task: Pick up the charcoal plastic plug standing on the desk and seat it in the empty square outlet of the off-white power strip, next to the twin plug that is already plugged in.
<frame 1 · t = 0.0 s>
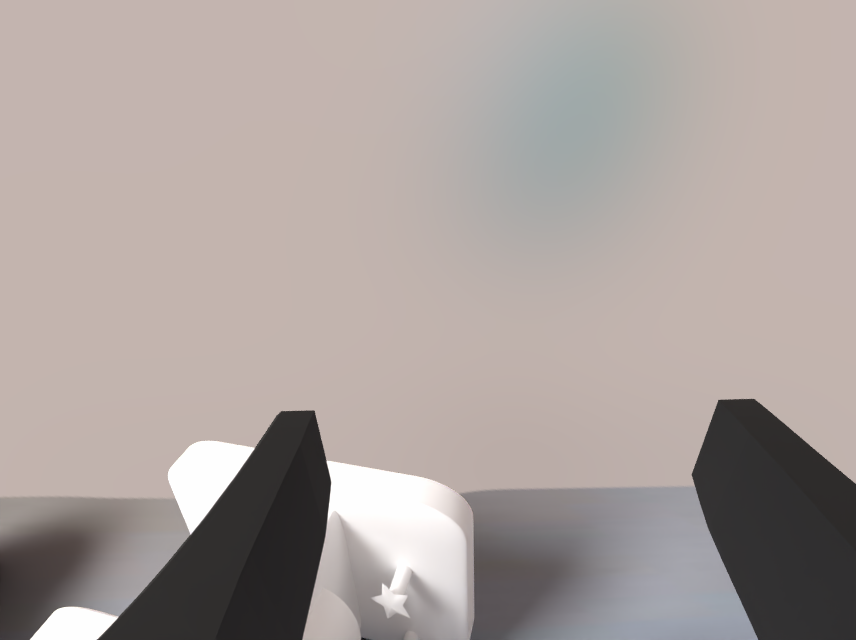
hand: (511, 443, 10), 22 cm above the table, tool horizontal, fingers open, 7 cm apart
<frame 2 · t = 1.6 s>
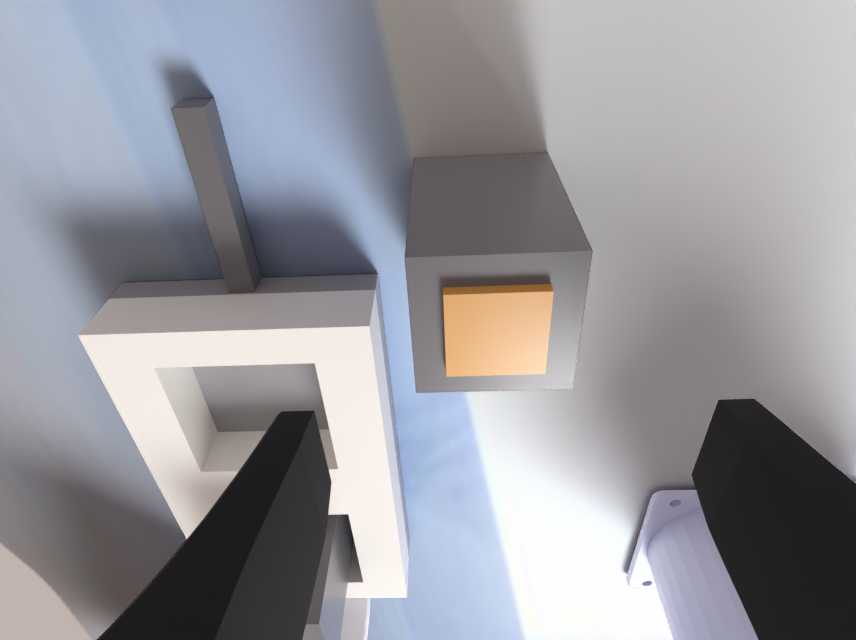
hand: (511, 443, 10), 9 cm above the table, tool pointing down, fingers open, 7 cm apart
plug: (480, 215, 18), on the table
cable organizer: (279, 612, 34), on the table
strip: (293, 435, 24), on the table
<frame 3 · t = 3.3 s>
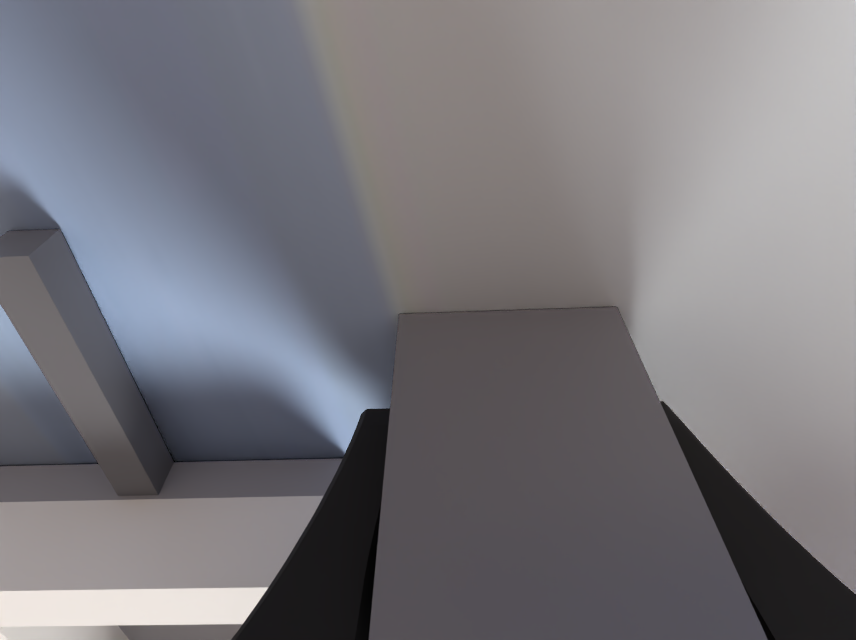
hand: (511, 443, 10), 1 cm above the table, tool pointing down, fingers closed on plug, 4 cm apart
plug: (503, 389, 11), on the table, touching gripper
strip: (240, 627, 18), on the table
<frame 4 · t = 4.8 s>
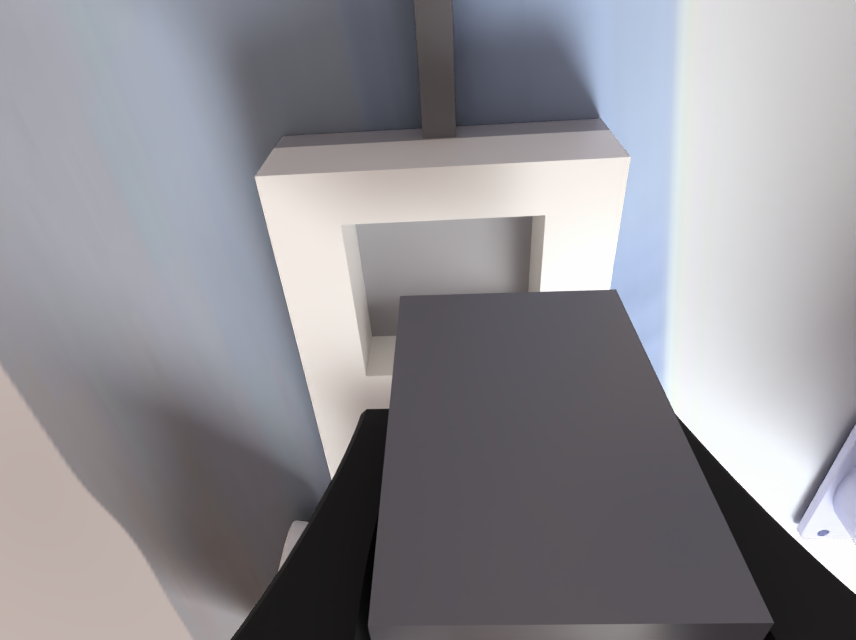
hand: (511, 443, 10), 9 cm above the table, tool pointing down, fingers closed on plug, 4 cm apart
plug: (503, 373, 12), point 7 cm above the table, touching gripper
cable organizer: (386, 574, 30), on the table
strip: (449, 347, 20), on the table
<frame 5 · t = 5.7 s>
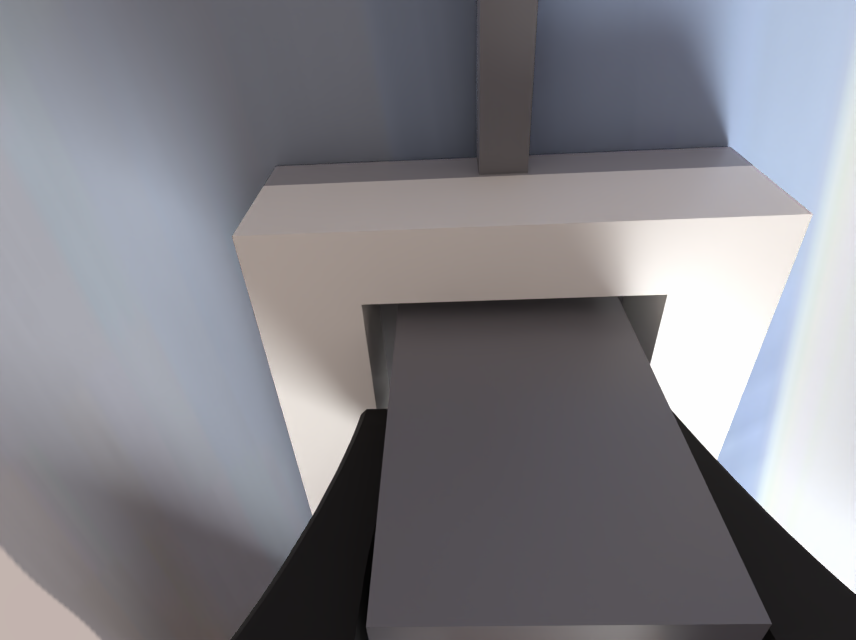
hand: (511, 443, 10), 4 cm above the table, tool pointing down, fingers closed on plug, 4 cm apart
plug: (502, 373, 12), point 2 cm above the table, touching gripper
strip: (491, 432, 16), on the table
when the fingers open (3 cm above the table, at t = 6.2 s): plug stays where it is, resting on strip.
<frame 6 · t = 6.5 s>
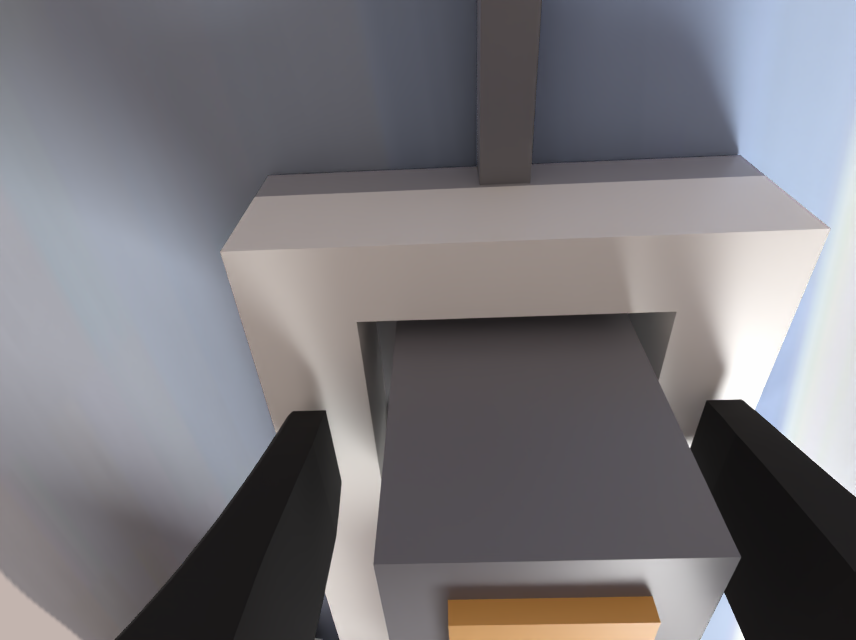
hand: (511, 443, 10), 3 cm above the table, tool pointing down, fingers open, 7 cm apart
plug: (500, 351, 12), point 1 cm above the table, touching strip
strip: (492, 445, 15), on the table
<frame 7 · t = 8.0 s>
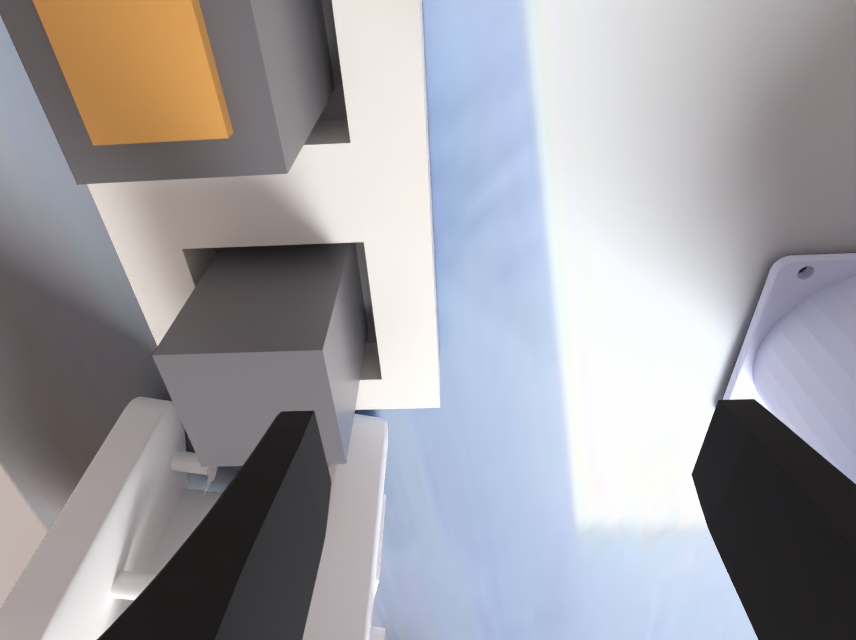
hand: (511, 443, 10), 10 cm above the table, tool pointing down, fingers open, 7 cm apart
plug: (243, 10, 14), point 1 cm above the table, touching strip
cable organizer: (271, 480, 27), on the table
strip: (285, 158, 17), on the table
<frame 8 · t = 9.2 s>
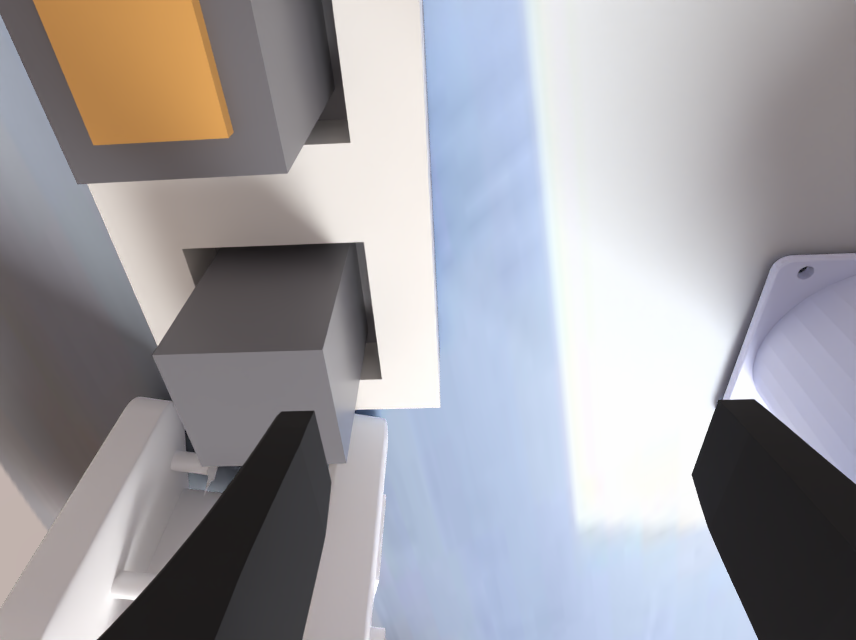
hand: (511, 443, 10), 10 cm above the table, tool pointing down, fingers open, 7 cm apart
plug: (243, 10, 14), point 1 cm above the table, touching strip
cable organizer: (271, 480, 27), on the table
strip: (285, 158, 17), on the table
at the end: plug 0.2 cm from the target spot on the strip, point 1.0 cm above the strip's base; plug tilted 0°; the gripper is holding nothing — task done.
